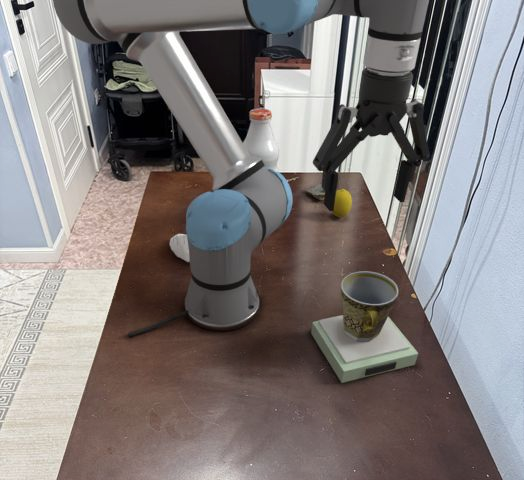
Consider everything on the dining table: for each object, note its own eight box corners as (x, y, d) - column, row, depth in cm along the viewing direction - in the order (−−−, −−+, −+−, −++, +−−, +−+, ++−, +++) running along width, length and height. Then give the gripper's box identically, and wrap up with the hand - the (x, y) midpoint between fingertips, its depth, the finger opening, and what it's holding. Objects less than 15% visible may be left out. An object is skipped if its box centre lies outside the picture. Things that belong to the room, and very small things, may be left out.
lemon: (348, 223, 129) (353, 195, 124) (327, 221, 130) (331, 192, 125) (350, 213, 133) (354, 185, 128) (329, 211, 134) (333, 183, 129)
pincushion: (202, 261, 115) (200, 240, 111) (176, 266, 113) (173, 244, 110) (190, 236, 123) (188, 215, 119) (166, 240, 122) (163, 219, 118)
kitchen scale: (342, 384, 88) (345, 370, 85) (310, 333, 97) (312, 319, 95) (415, 366, 91) (420, 352, 89) (378, 318, 101) (381, 305, 99)
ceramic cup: (332, 312, 96) (338, 270, 90) (383, 314, 96) (393, 271, 90) (337, 359, 87) (345, 315, 80) (394, 361, 87) (407, 317, 80)
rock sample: (311, 171, 143) (328, 159, 136) (329, 188, 146) (347, 178, 138) (294, 197, 141) (311, 187, 133) (313, 215, 143) (331, 206, 136)
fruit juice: (265, 214, 132) (268, 102, 113) (283, 229, 126) (290, 114, 107) (234, 222, 129) (231, 108, 110) (251, 238, 123) (252, 121, 104)
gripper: (318, 81, 67) (305, 221, 82) (475, 71, 73) (437, 204, 87) (300, 66, 73) (290, 201, 87) (448, 58, 78) (416, 186, 93)
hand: (364, 203), depth 87 cm, fingers open, 13 cm apart
